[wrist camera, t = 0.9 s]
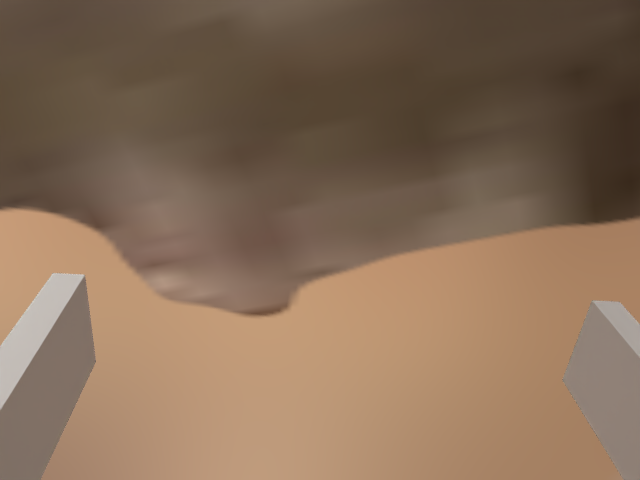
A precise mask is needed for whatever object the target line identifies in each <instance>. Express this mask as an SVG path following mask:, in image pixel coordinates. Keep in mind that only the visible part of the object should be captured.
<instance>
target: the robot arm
mask: <svg viewBox="0 0 640 480" xmlns="http://www.w3.org/2000/svg"><path fill="white" fill-rule="evenodd" d="M95 362H96V360H95V351H94V343H93V336H92V327H91V319H90V311H89V303H88V295H87V287H86V280H85V275H79V274H61V273H53V274H52V275H51V277H50V278H49V279H48V281H47V282H46V284H45V285H44V286H43V288H42V289H41V291H40V292H39V293H38V295H37V296H36V297H35V299H34V300H33V302H32V303H31V304H30V306H29V307H28V308H27V310H26V311H25V313H24V314H23V315H22V317H21V318H20V319H19V321H18V322H17V324H16V325H15V326H14V328H13V329H12V331H11V332H10V333H9V335H8V336H7V337H6V339H5V340H4V342H3V343H2V344H1V346H0V480H41V477H42V475H43V473H44V471H45V469H46V467H47V465H48V463H49V460H50V458H51V456H52V454H53V452H54V449H55V447H56V445H57V443H58V441H59V439H60V437H61V435H62V433H63V431H64V428H65V426H66V424H67V422H68V420H69V418H70V416H71V414H72V411H73V409H74V407H75V405H76V403H77V401H78V398H79V396H80V394H81V392H82V390H83V388H84V386H85V384H86V381H87V379H88V377H89V375H90V373H91V371H92V369H93V367H94V364H95ZM563 382H564V383H565V385H566V387H567V388H568V390H569V391H570V393H571V395H572V396H573V398H574V400H575V401H576V403H577V404H578V406H579V408H580V409H581V411H582V413H583V414H584V416H585V417H586V419H587V421H588V423H589V424H590V426H591V427H592V429H593V431H594V432H595V434H596V436H597V437H598V439H599V440H600V442H601V444H602V445H603V447H604V448H605V450H606V452H607V453H608V455H609V456H610V458H611V460H612V461H613V463H614V465H615V466H616V468H617V470H618V471H619V473H620V475H621V476H622V478H623V479H624V480H640V324H639V323H638V322H637V321H636V320H635V319H634V317H633V316H632V315H631V314H630V313H629V312H628V311H627V310H626V309H625V307H624V306H623V305H622V304H621V303H620V302H612V301H592V302H591V304H590V307H589V310H588V313H587V315H586V318H585V320H584V323H583V326H582V329H581V331H580V334H579V337H578V339H577V342H576V345H575V347H574V350H573V353H572V355H571V358H570V361H569V363H568V366H567V369H566V371H565V374H564V377H563Z"/></svg>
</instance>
